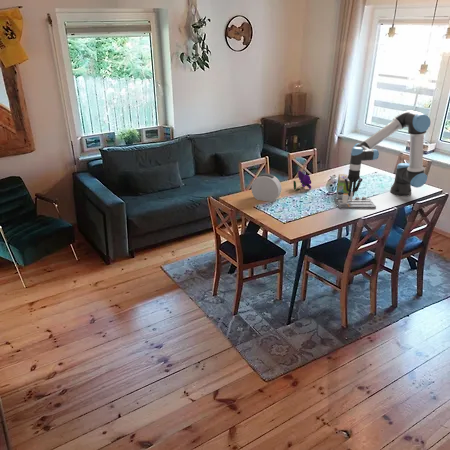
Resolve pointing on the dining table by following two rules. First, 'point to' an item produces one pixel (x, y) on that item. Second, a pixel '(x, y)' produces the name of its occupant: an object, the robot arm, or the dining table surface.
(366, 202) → the console
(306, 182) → the flower
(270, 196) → the alarm clock
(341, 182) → the tea box
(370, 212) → the dining table surface
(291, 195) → the dining table surface
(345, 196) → the fader
